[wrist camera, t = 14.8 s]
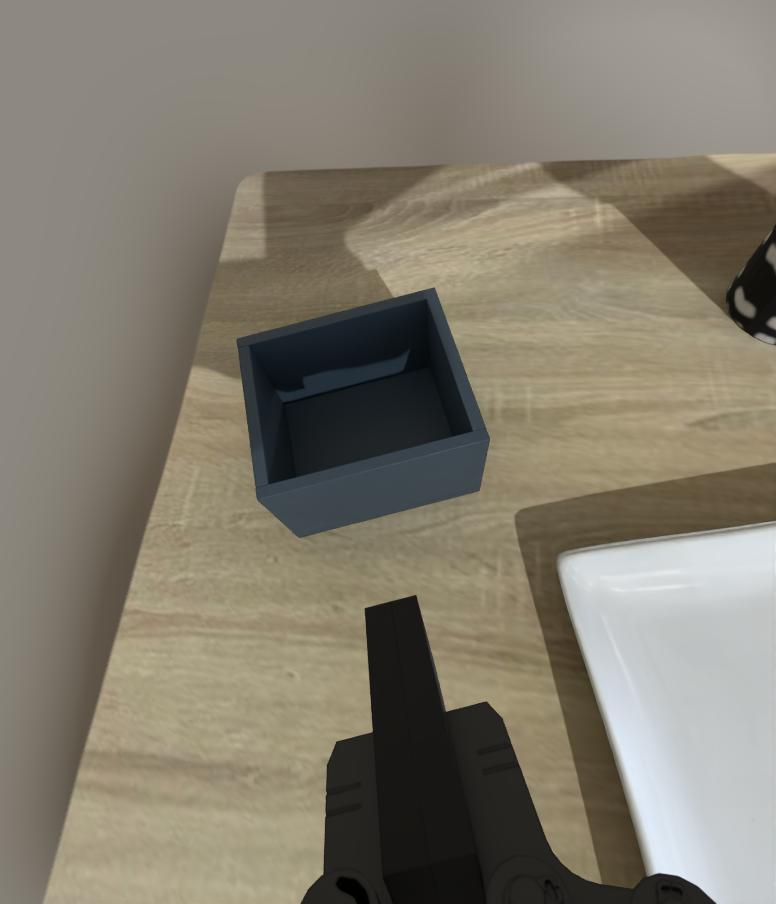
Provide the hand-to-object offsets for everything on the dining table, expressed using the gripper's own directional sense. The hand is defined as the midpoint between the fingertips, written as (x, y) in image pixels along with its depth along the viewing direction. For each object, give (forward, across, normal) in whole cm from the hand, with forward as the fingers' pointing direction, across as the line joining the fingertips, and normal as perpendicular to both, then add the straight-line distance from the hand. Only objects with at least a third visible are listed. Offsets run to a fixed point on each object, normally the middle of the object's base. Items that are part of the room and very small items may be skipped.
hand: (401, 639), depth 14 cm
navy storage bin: (+18, 0, -4) cm, 18 cm away
